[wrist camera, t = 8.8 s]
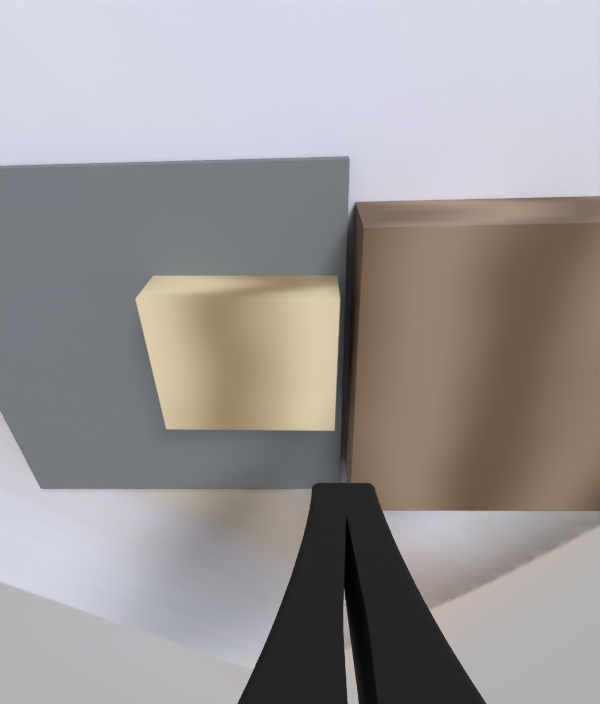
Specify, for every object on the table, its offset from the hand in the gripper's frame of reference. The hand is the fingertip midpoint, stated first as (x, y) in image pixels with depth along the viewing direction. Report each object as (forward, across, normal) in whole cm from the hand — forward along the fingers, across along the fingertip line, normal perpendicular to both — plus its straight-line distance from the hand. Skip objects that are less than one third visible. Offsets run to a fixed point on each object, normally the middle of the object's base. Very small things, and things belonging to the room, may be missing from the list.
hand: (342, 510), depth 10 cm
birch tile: (+9, +3, +1) cm, 9 cm away
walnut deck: (+9, -7, +2) cm, 12 cm away
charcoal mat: (+9, +8, +2) cm, 12 cm away
